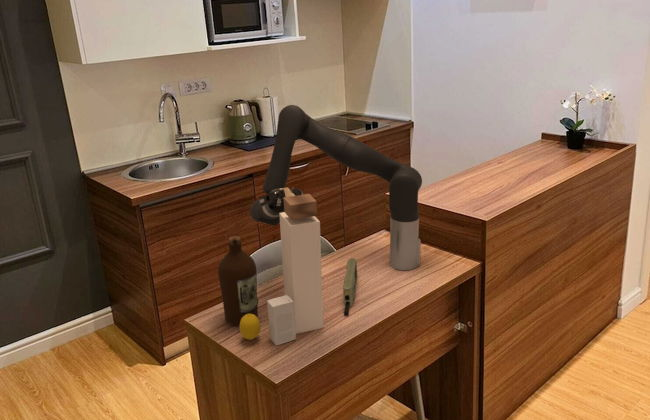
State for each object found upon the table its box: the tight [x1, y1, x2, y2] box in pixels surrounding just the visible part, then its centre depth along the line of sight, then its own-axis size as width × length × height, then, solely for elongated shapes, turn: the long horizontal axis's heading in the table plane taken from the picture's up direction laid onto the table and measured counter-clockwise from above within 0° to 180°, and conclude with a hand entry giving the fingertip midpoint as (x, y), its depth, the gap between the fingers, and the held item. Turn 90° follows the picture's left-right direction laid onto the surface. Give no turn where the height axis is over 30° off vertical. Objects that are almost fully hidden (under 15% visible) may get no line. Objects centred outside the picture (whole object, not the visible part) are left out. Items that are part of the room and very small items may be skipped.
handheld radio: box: [342, 257, 358, 316], centre depth 176 cm, size 7×3×25 cm
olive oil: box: [217, 235, 259, 327], centre depth 162 cm, size 11×11×25 cm
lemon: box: [239, 314, 261, 341], centre depth 155 cm, size 6×6×8 cm
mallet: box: [280, 187, 318, 220], centre depth 155 cm, size 7×18×4 cm, turn 20°
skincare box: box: [266, 295, 297, 346], centre depth 154 cm, size 6×4×12 cm
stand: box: [279, 212, 324, 335], centre depth 158 cm, size 8×10×32 cm
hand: (288, 191), depth 158 cm, fingers closed on mallet, 2 cm apart
